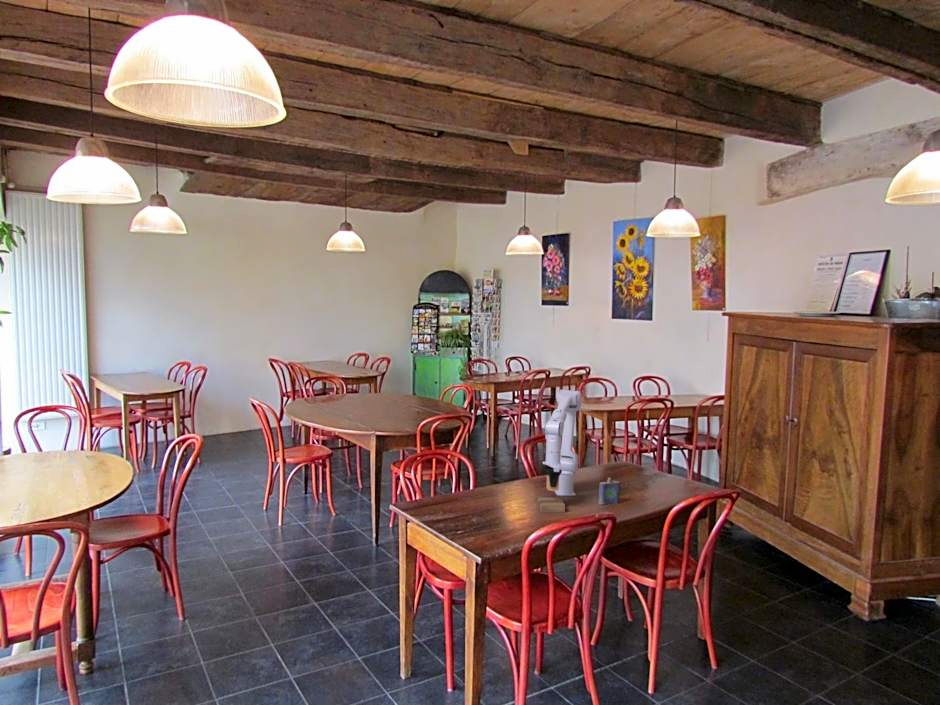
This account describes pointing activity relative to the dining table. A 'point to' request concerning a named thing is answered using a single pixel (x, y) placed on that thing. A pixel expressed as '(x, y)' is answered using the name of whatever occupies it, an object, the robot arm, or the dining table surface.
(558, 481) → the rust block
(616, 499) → the flask
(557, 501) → the base
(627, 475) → the dining table surface
